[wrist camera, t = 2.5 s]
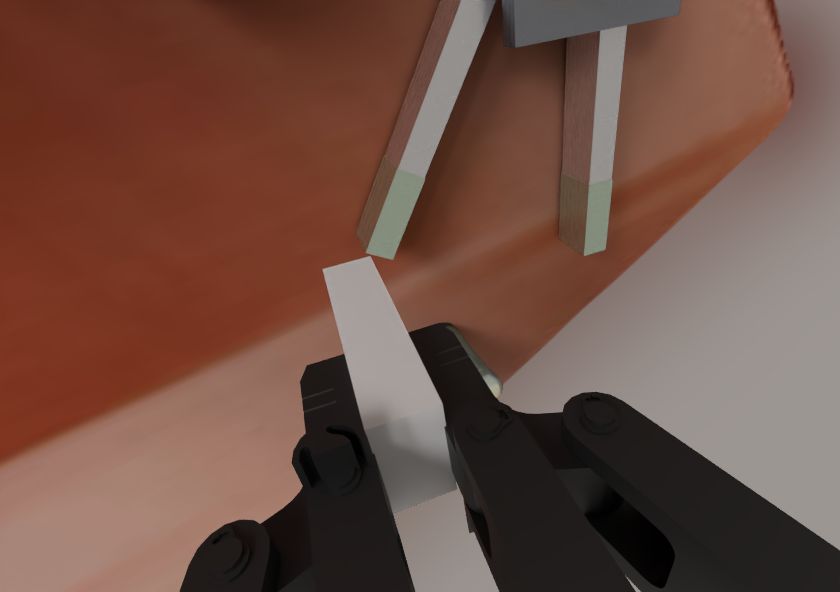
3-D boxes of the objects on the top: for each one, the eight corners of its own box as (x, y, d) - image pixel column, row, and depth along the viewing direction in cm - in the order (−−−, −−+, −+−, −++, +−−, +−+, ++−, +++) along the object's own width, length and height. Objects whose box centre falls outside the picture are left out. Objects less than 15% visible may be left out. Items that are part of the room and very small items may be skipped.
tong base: (504, -199, 20) (544, -237, 17) (603, -208, 20) (656, -245, 18) (516, 249, 32) (540, 269, 29) (576, 231, 33) (605, 249, 30)
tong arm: (479, -113, 21) (510, -133, 18) (507, -92, 21) (541, -108, 19) (355, 232, 27) (365, 252, 25) (380, 239, 28) (392, 259, 26)
